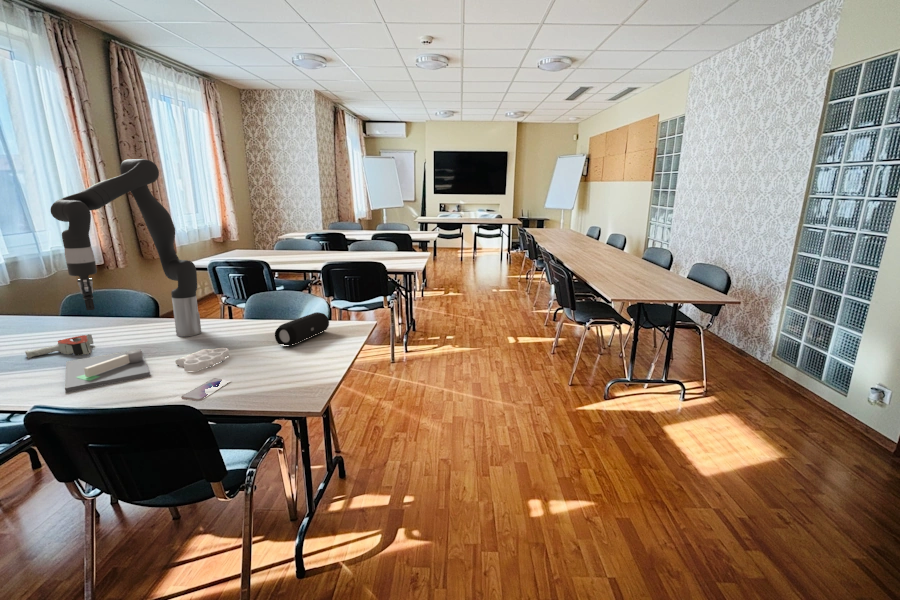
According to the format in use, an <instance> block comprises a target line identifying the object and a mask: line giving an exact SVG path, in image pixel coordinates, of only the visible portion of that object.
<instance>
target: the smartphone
mask: <svg viewBox="0 0 900 600" xmlns="http://www.w3.org/2000/svg"><path fill="white" fill-rule="evenodd" d="M222 379H223V378H212V379H210V380H208V381H206V382H205V383H202V384H200V385H199V386H197V387H195V388H194V389H192V390H190V391H188V392H186V393H185V394H182V396H181V397H180V398H182V400H187V399H192V400H191V401H195V400H201V401H203V400H204V399H203V398H204V397H206V396H207V395H208V394H206V393H205V389H208V388H211V387H212V386H213V387H218V386H219V384H220V382H221V381H222ZM216 385H217V386H216ZM206 398H207V397H206ZM202 399H203V400H202Z"/></svg>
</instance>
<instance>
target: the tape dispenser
mask: <svg viewBox="0 0 900 600" xmlns="http://www.w3.org/2000/svg"><path fill="white" fill-rule="evenodd" d="M91 345H94V339H93V336H92V334H91V333H90V334H85V335H83V334H82V335H78V336H72V337H69V338H65V339H58V340H57V344H55V345H54V346H47V347H40V348H36V349H33V350H32V349H31V350H25V351H24V353H25V355H26V357H27V358H28V359H31V358H33V357H38V356H42V355H48V354H52V353H55V352H60V354H62V353H64V354H65V355H72V353H73V354H74V355H75V356H83V354H85V355H90V354H92V347H91ZM89 353H90V354H89ZM64 354H63V355H64Z"/></svg>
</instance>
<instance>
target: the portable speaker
mask: <svg viewBox="0 0 900 600" xmlns="http://www.w3.org/2000/svg"><path fill="white" fill-rule="evenodd" d="M329 326H330V320H329V318H328V316H327V314H325V313H323V312H313V313H310V314H307V315H305V316H302V317H299V318H296V319H294V320H290V321H287V322H285V323H282V324H280V325H279V326H278V327H277V328H276V329H275V331H274V339H275V341H276V343H277V344H278V345H279V344H284V345H292V344H295V343H298V342H300V341H302V340H304V339H306V338H309V337H311V336H313V335H315V334H318V333H320V332H322V331H324V330H326V331H327V329H328V328H329ZM309 339H310V338H309ZM302 342H303V341H302ZM300 343H301V342H300ZM298 344H299V343H298ZM295 345H296V344H295Z"/></svg>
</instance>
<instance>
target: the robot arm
mask: <svg viewBox="0 0 900 600" xmlns="http://www.w3.org/2000/svg"><path fill="white" fill-rule="evenodd" d="M119 169H120V175H117V176H115V177H111V178H109V179H104V180H101V181H99V182H97V183H95V184H93V185H90V186H89V187H87V188H85V189H83V190H81V191H80V192H77V193H74V194H71V195H67V196H65V197H61V198H59V199H57V200H56V201H55V202H54V203H52V205H51V207H50V214H51V216H52V217H53V218H55V220H58V221H60V222H64V223H66V222H67V223H68V229H65V230H63V231H62V232H61V238H62V244H63V247H64V256H65V257H64V259H65V261H66V262H65V263H66V268H67V271H68V276H71V277H79V279H77V286H78V287H79V293H80V294H81V295H82V299H83V300H84V303H85V308H86V310H87V311H94V310H95V304H94V295H93V293H94V287H93V285H94V282H93V278H92V277H91V278H89V276H92V275H95V274H97V272H98V269H97V264H96V258H95V255H94V254H95V253H94V250H93V248H92V243H91V239H90V230H91V221H92V220H91V219H92V218H91V217H92V214H91V211H96V210H99V209H101V208H102V207H104V206H106V205H108V204H109V203H111V202H114V200H116V199H118V198H120V197H122V196H124V195H125V194H128V193H130V192H131V196H132V197H133V199H134V200H135V203H136V206H137V207H138V210H139V212H140V213H141V215H142V218H143V221H144V223H145V225H146V228H147V230H148V232H149V235H150V237H151V239H152V241H153V244H154V246H155V249H156V252H157V254H158V258H159V260H160V264H161V268H162V270H163V273H164V275H165V277H166V278H168V279H169V280H171V281H177V288H175V289H172V290H171V293H170V295H171V302H172V309H173V319H174V324H175V325H174V326H175V333H176V334H175V335H176V336H177V337H179V338H180V337H182V338H184V337H193V336H197V335H199V334H202V325H201V318H200V317H201V315H200V312H199V308H198V300H197V290H198V273H197V268H196V265H195V264H194V263H193V262H192V261H191V260H188V259H179V257H178V255H177V252H176V250H175V244H174V243H175V238H176V227H175V224H174V221H173V220H172V218H171V217H172V216H171V215H170V213H169V211H168V210H167V208H165V207H164V206H163V204H161V203H160V202H159V201H158V200H157V199H156V197H155V196H154V195H153V194H152V192H151V191H150V188H149V186H148V185H150V184H153V183H155V182H156V181H157V180H158V179H159V176H160V171H159V167H158V166H157V164H156V163H155V162H153V161H151V160H149V159H145V158H136V159H135V158H134V159H133V158H131V159H125V160H122V162H121V164H120V168H119Z"/></svg>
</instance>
